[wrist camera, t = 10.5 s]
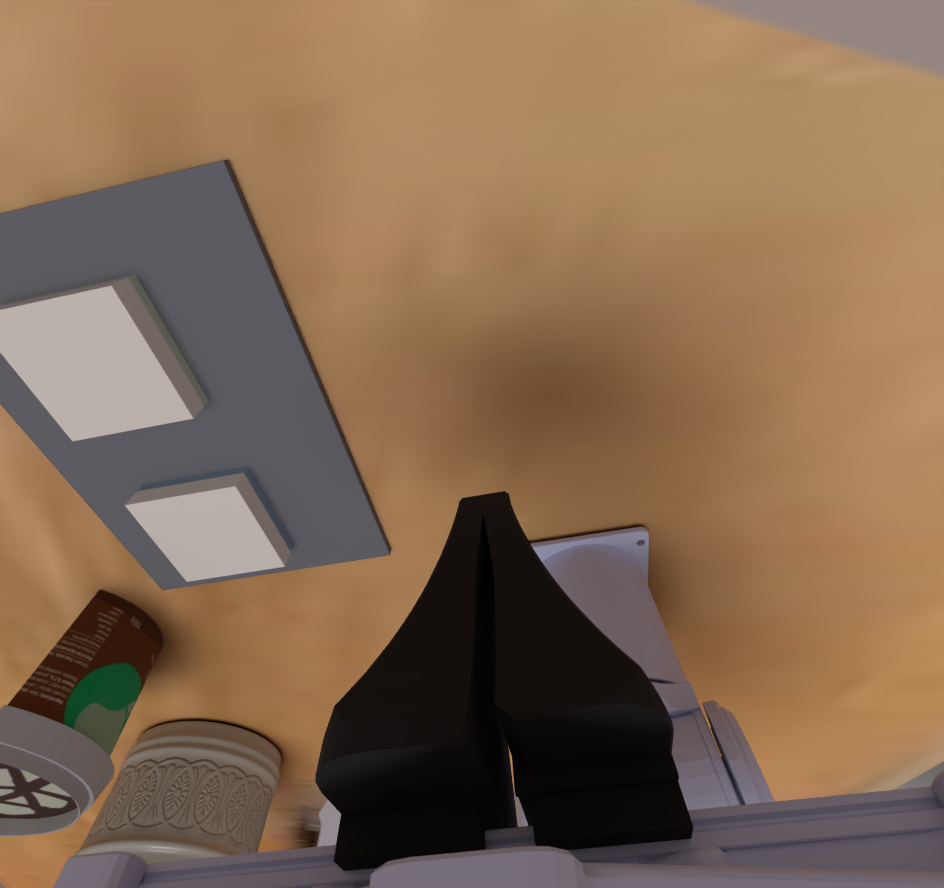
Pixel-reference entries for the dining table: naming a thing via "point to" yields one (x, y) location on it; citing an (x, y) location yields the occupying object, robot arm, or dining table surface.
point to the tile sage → (99, 359)
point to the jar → (189, 794)
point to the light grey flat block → (212, 524)
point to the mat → (194, 364)
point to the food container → (73, 717)
